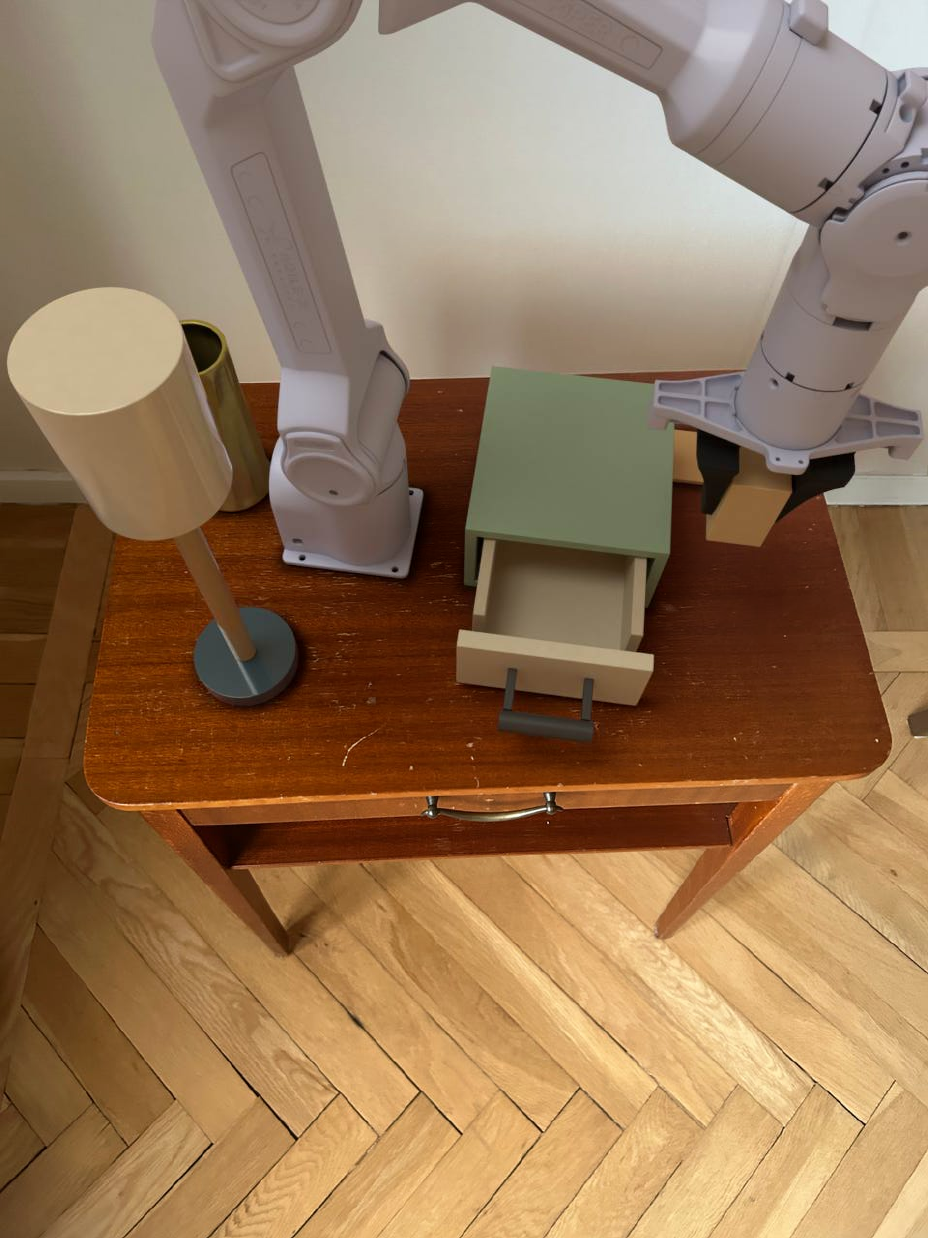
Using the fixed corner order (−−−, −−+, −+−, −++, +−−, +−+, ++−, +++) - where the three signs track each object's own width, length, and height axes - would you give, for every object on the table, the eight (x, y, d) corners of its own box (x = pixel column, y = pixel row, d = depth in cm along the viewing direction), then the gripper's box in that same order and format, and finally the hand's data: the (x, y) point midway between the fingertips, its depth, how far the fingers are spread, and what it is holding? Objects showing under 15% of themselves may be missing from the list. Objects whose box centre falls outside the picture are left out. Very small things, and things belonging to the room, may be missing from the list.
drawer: (633, 766, 58) (650, 736, 53) (447, 741, 58) (446, 708, 53) (644, 540, 66) (660, 495, 61) (481, 520, 67) (483, 474, 61)
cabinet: (647, 608, 64) (670, 553, 57) (463, 585, 65) (465, 528, 58) (654, 451, 71) (676, 386, 64) (488, 432, 72) (492, 365, 65)
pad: (662, 480, 70) (663, 477, 69) (664, 431, 72) (665, 428, 72) (738, 489, 69) (739, 486, 69) (737, 439, 72) (739, 436, 71)
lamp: (187, 699, 61) (-22, 403, 34) (214, 610, 64) (43, 277, 37) (286, 712, 60) (153, 424, 34) (308, 623, 63) (204, 295, 37)
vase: (260, 519, 67) (215, 390, 55) (184, 505, 68) (122, 375, 55) (283, 457, 70) (246, 321, 58) (210, 444, 71) (157, 307, 58)
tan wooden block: (705, 540, 56) (732, 484, 51) (706, 490, 58) (732, 431, 53) (760, 547, 56) (792, 492, 51) (759, 496, 58) (790, 438, 53)
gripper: (669, 392, 42) (621, 543, 54) (975, 428, 42) (858, 573, 54) (674, 289, 46) (628, 453, 58) (958, 321, 45) (851, 480, 57)
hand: (738, 505), depth 56 cm, fingers closed on tan wooden block, 3 cm apart
